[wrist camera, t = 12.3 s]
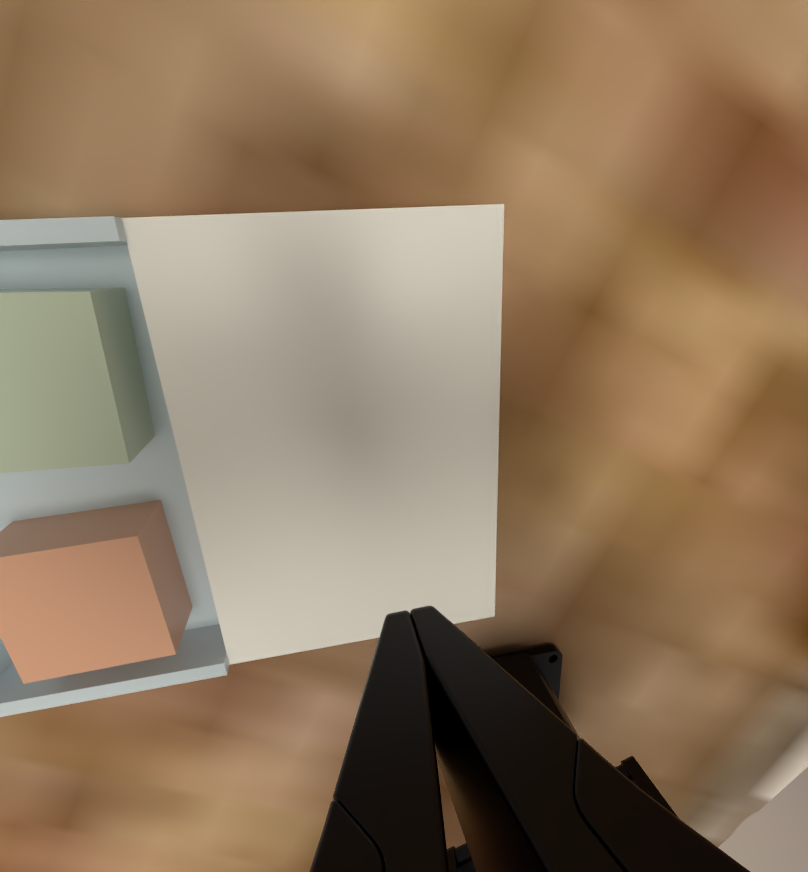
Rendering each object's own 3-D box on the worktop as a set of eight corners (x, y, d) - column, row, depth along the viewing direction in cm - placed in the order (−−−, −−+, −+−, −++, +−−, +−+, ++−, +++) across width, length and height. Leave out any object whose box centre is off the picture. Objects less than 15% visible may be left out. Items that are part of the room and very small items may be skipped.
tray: (236, 628, 20) (227, 674, 18) (5, 667, 19) (-38, 723, 16) (145, 223, 14) (113, 216, 12) (-197, 237, 13) (-305, 231, 11)
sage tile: (154, 435, 16) (129, 463, 14) (-5, 446, 16) (-61, 477, 13) (124, 287, 15) (89, 291, 12) (-58, 289, 14) (-132, 294, 11)
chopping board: (479, 586, 22) (494, 616, 20) (236, 628, 20) (229, 664, 18) (481, 211, 16) (504, 203, 14) (145, 223, 14) (121, 218, 13)
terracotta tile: (192, 607, 19) (176, 654, 17) (59, 631, 18) (23, 683, 16) (160, 499, 17) (137, 535, 15) (12, 521, 16) (-37, 562, 14)
